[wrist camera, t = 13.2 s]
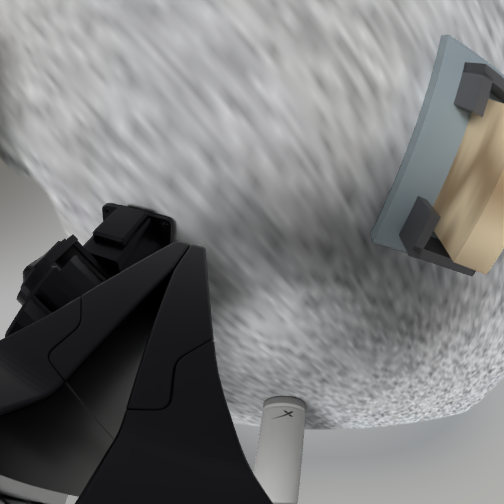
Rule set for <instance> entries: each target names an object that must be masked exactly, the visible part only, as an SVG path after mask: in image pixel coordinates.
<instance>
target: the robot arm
mask: <svg viewBox="0 0 504 504" xmlns="http://www.w3.org/2000/svg"><path fill="white" fill-rule="evenodd" d="M107 208H108V209H109V211H108V209H107ZM102 212H103V222H102V223H101V224H100V225H99V226H98V227H97V228H96V229H95V230H94V231H93V236H92V237H91V238H90V239H89V240H88V241H87V242H86V243H85V244H84V245H83V246H82V245H81V244H80V243H79V242H78V239H77V238H76V237H75V236H74V235H72V236H70V237H69V238H68V239H67V240H66V239H64V240H62V241H58V242H57V243H56V244H55V245H54V246H53V247H52V248H51V249H50V250H49V251H48V252H47V253H46V254H45V255H43V256H42V257H40V258H39V259H37V260H35V261H34V262H32V263H31V264H30V265H28V266H27V267H26V268H25V269H24V271H23V284H22V286H21V290H20V292H19V294H18V296H17V300H18V301H19V302H20V303H21V304H22V308H21V309H20V311H19V312H18V314H17V316H16V317H15V318H14V320H13V322H12V323H11V325H10V327H9V328H8V330H7V332H6V334H5V338H4V339H2V340H0V504H65V502H66V499H67V496H68V495H73V496H79V498H78V500H77V501H76V503H75V504H273V502H272V501H271V499H270V498H269V496H268V495H267V494H266V492H265V491H264V489H263V488H262V486H261V484H260V483H259V481H258V480H257V478H256V477H255V475H254V473H253V472H252V470H251V468H250V466H249V464H248V462H247V460H246V457H245V455H244V453H243V450H242V448H241V445H240V443H239V439H238V437H237V434H236V431H235V428H234V425H233V422H232V418H231V415H230V412H229V409H228V406H227V403H226V400H225V396H224V393H223V389H222V385H221V381H220V377H219V373H218V367H217V361H216V354H215V345H214V341H213V340H214V338H213V328H212V318H211V308H210V298H209V286H208V274H207V262H206V249H205V248H204V247H200V246H196V245H191V246H190V244H188V243H184V242H180V241H175V242H173V243H172V232H173V221H172V220H171V219H170V218H169V217H166V216H161V215H157V214H153V213H149V212H146V211H144V210H139V209H135V208H131V207H126V206H122V205H120V206H119V205H114V204H110V203H107V204H105V205H104V206H103V208H102ZM164 222H166V223H167V224H168V225H166V224H165V223H164Z"/></svg>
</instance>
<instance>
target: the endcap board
mask: <svg viewBox="0 0 504 504" xmlns="http://www.w3.org/2000/svg"><path fill="white" fill-rule="evenodd" d="M488 99H491V100H494V101H497V102H500V103H503V104H504V75H503V74H502V73H501V72H499V71H498V70H497V69H496V68H495V67H493V66H492V65H491V64H490V63H488V62H487V61H486V60H484V59H483V58H482V57H480V56H479V55H478V54H476V53H475V52H474V51H472V50H471V49H469V48H468V47H466V46H465V45H464V44H462V43H461V42H459V41H457V40H456V39H454V38H453V37H451V36H450V35H443V36H441V40H440V45H439V49H438V53H437V57H436V61H435V65H434V69H433V72H432V76H431V79H430V83H429V86H428V90H427V93H426V96H425V100H424V103H423V106H422V109H421V112H420V115H419V118H418V121H417V124H416V127H415V130H414V132H413V135H412V138H411V141H410V143H409V146H408V149H407V151H406V154H405V157H404V159H403V162H402V164H401V167H400V169H399V172H398V174H397V177H396V179H395V181H394V184H393V186H392V188H391V191H390V193H389V195H388V198H387V200H386V202H385V204H384V207H383V209H382V211H381V213H380V215H379V218H378V220H377V222H376V224H375V226H374V228H373V230H372V232H371V234H370V236H371V239H372V241H373V243H376V244H380V245H383V246H386V247H389V248H393V249H396V250H399V251H402V252H406V253H408V255H409V256H412V257H415V258H418V259H421V260H424V261H427V262H431V263H434V264H437V265H440V266H443V267H446V268H449V269H452V270H455V271H458V272H461V273H463V274H466V275H469V276H473V275H474V273H475V272H476V270H473V269H470V268H468V267H465V266H463V265H460V264H457V263H455V262H453V260H452V259H451V257H450V255H449V254H448V252H447V250H446V249H445V247H444V246H443V244H442V243H441V241H440V240H439V238H438V237H437V235H436V234H435V232H434V229H435V227H436V225H437V224H438V222H439V220H440V218H441V217H440V215H439V214H438V213H437V212H436V210H435V209H434V208H433V205H434V203H435V201H436V199H437V197H438V195H439V192H440V190H441V188H442V186H443V184H444V182H445V180H446V177H447V175H448V173H449V171H450V168H451V166H452V164H453V161H454V159H455V157H456V154H457V152H458V149H459V147H460V144H461V141H462V139H463V136H464V133H465V131H466V128H467V125H468V122H469V119H470V116H471V113H473V114H476V115H478V116H481V117H483V115H484V112H485V108H486V105H487V102H488Z"/></svg>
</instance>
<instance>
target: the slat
mask: <svg viewBox="0 0 504 504" xmlns="http://www.w3.org/2000/svg"><path fill="white" fill-rule="evenodd" d="M433 208H434V209H435V210H436V212H437V213H438V214H439V215H440V217H441V218H440V220H439V222H438V224H437V225H436V227H435V229H434V232H435V234H436V235H437V237H438V238H439V240H440V241H441V243H442V244H443V246H444V247H445V249H446V250H447V252H448V254H449V255H450V257H451V259H452V260H453V262H455V263H457V264H460V265H463V266H465V267H468V268H470V269H473V270H476V271H478V272H481V273H483V274H486V275H487V273H488V272H489V270H490V269H491V267H492V266H493V264H494V263H495V261H496V260H497V258H498V257H499V255H500V254H501V252H502V250H503V249H504V104H503V103H500V102H497V101H494V100H491V99H488V102H487V105H486V108H485V112H484V115H483V117H481V116H478V115H476V114H473V113H471V116H470V119H469V122H468V125H467V128H466V131H465V133H464V136H463V139H462V141H461V144H460V147H459V149H458V152H457V154H456V157H455V159H454V161H453V164H452V166H451V168H450V171H449V173H448V175H447V177H446V180H445V182H444V184H443V186H442V188H441V190H440V192H439V195H438V197H437V199H436V201H435V203H434V205H433Z"/></svg>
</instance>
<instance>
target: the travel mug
mask: <svg viewBox="0 0 504 504" xmlns="http://www.w3.org/2000/svg"><path fill="white" fill-rule="evenodd" d="M305 407H306V405H305V403H304V402H303V401H301V400H300V399H297V398H294V397H287V396H279V397H273V398H270V399H267V400H266V401H265V402H264V406H263V414H262V420H261V427H260V434H259V441H258V447H257V454H256V460H255V466H254V472H253V473H254V475H255V477H256V478H257V480H258V481H259V483H260V484H261V486H262V488H263V489H264V491H265V492H266V494H267V495H268V496H269V498H270V499H271V501H272V502H273V504H297V502H298V493H299V484H300V474H301V464H302V452H303V438H304V424H305Z"/></svg>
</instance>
